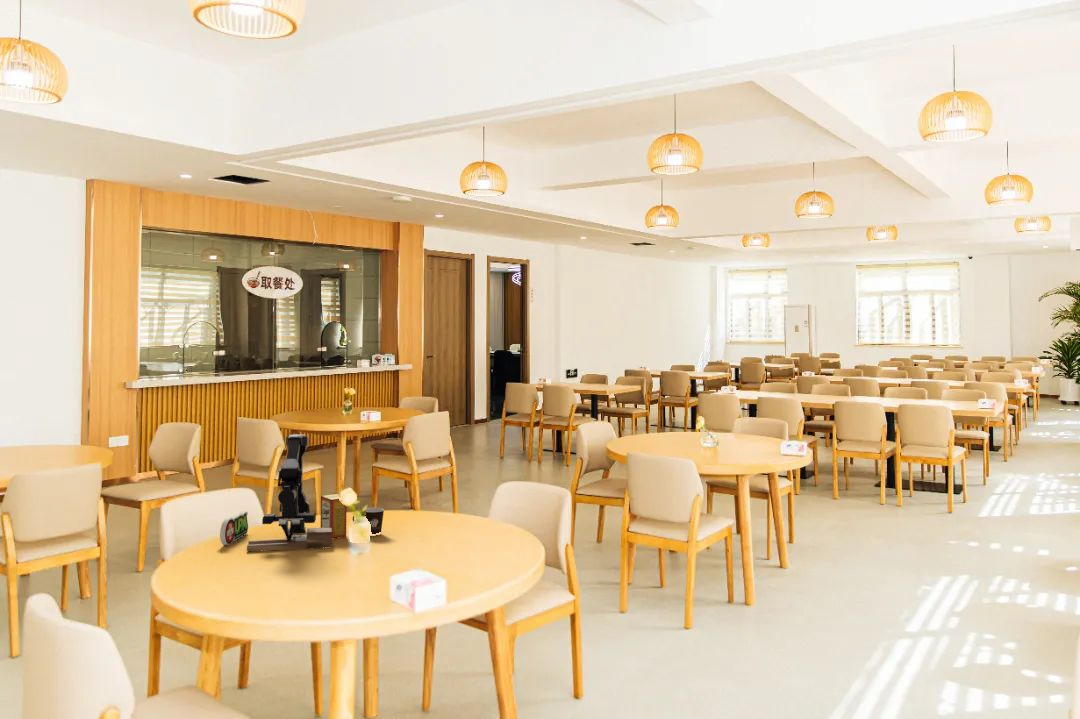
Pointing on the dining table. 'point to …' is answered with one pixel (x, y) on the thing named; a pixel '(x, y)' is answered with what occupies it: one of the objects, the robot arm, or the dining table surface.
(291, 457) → the robot arm
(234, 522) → the sign
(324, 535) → the housing
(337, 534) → the baking soda box
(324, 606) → the dining table surface
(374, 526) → the coffee mug
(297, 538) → the grey rectangular block
